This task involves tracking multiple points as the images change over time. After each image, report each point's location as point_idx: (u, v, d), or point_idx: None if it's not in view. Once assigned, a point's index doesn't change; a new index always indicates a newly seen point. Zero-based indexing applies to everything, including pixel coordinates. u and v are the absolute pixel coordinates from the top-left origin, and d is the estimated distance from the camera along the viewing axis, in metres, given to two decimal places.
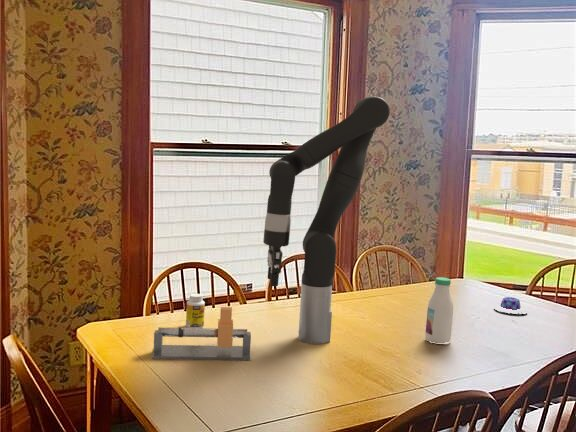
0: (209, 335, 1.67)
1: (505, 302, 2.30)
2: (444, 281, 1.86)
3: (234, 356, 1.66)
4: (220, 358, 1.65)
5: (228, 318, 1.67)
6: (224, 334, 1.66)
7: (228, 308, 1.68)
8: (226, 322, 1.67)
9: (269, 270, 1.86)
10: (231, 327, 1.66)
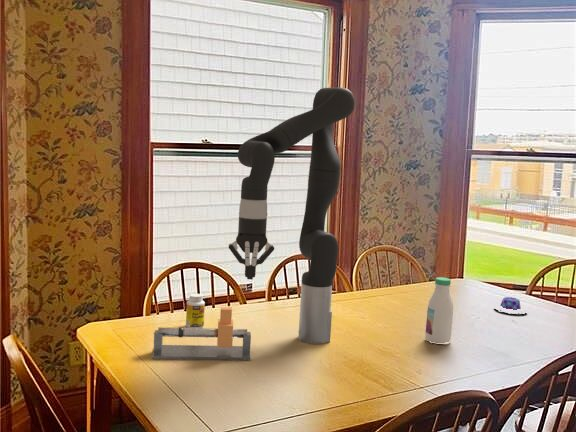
0: (209, 335, 1.67)
1: (505, 302, 2.30)
2: (444, 281, 1.86)
3: (234, 356, 1.66)
4: (220, 358, 1.65)
5: (228, 318, 1.67)
6: (224, 334, 1.66)
7: (228, 308, 1.68)
8: (226, 322, 1.67)
9: (250, 269, 1.67)
10: (231, 327, 1.66)
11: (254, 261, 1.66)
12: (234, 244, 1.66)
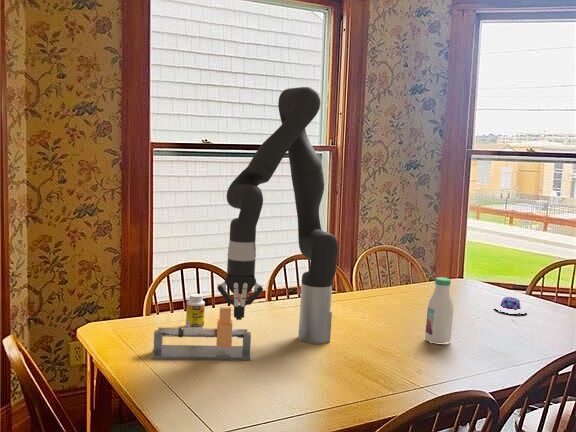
0: (209, 335, 1.67)
1: (506, 302, 2.29)
2: (444, 281, 1.86)
3: (234, 356, 1.66)
4: (220, 358, 1.65)
5: (227, 318, 1.67)
6: (224, 334, 1.66)
7: (227, 308, 1.68)
8: (225, 322, 1.67)
9: None
10: (230, 327, 1.66)
11: (243, 302, 1.67)
12: (223, 285, 1.67)
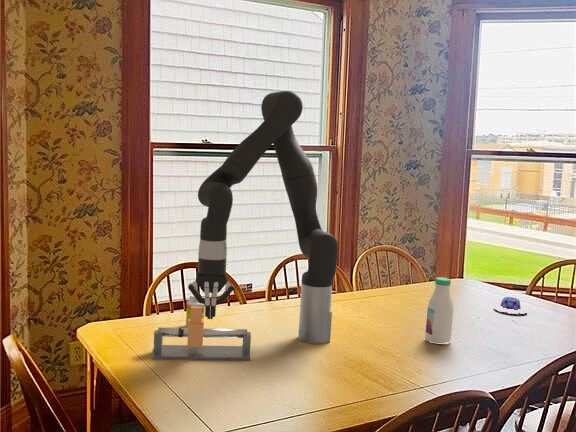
0: (209, 335, 1.67)
1: (506, 302, 2.29)
2: (444, 281, 1.86)
3: (234, 356, 1.66)
4: (220, 358, 1.65)
5: (198, 318, 1.66)
6: (194, 333, 1.65)
7: (198, 307, 1.67)
8: (196, 321, 1.67)
9: None
10: (201, 326, 1.65)
11: (214, 301, 1.66)
12: (194, 284, 1.66)
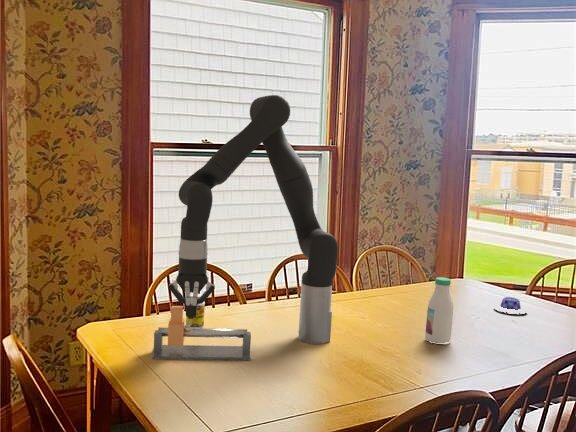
0: (209, 335, 1.67)
1: (506, 302, 2.29)
2: (444, 281, 1.86)
3: (234, 356, 1.66)
4: (220, 358, 1.65)
5: (178, 317, 1.66)
6: (175, 333, 1.64)
7: (179, 307, 1.67)
8: (177, 321, 1.66)
9: None
10: (181, 326, 1.64)
11: (194, 301, 1.66)
12: (174, 284, 1.65)
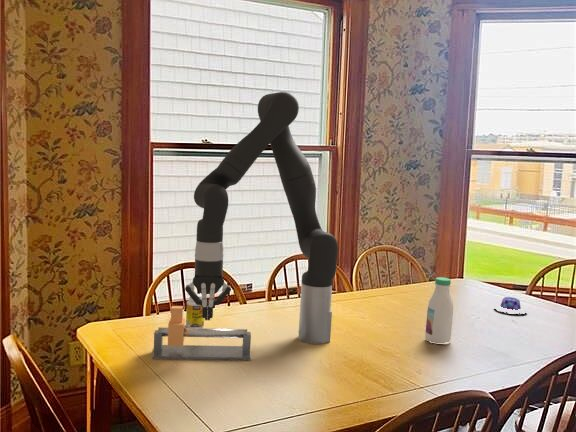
0: (209, 335, 1.67)
1: (507, 302, 2.29)
2: (444, 281, 1.86)
3: (234, 356, 1.66)
4: (220, 358, 1.65)
5: (178, 317, 1.66)
6: (175, 333, 1.64)
7: (179, 307, 1.67)
8: (177, 321, 1.66)
9: None
10: (181, 326, 1.64)
11: (211, 302, 1.66)
12: (191, 286, 1.66)
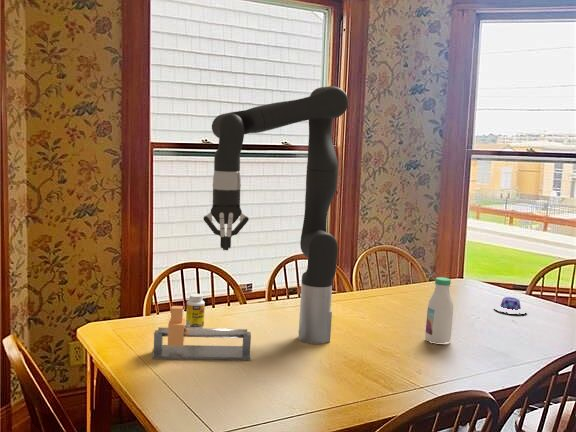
0: (209, 335, 1.67)
1: (507, 302, 2.29)
2: (444, 281, 1.86)
3: (234, 356, 1.66)
4: (220, 358, 1.65)
5: (178, 317, 1.66)
6: (175, 333, 1.64)
7: (179, 307, 1.67)
8: (177, 321, 1.66)
9: None
10: (181, 326, 1.64)
11: (229, 232, 1.69)
12: (209, 216, 1.68)
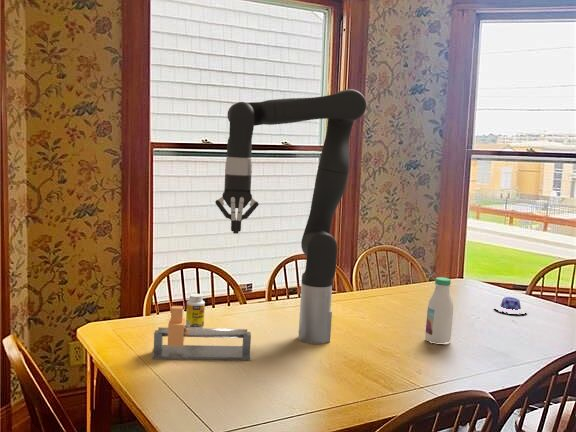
0: (209, 335, 1.67)
1: (507, 303, 2.29)
2: (444, 281, 1.86)
3: (234, 356, 1.66)
4: (220, 358, 1.65)
5: (178, 317, 1.66)
6: (175, 333, 1.64)
7: (179, 307, 1.67)
8: (177, 321, 1.66)
9: None
10: (181, 326, 1.64)
11: (239, 216, 1.76)
12: (220, 200, 1.76)
